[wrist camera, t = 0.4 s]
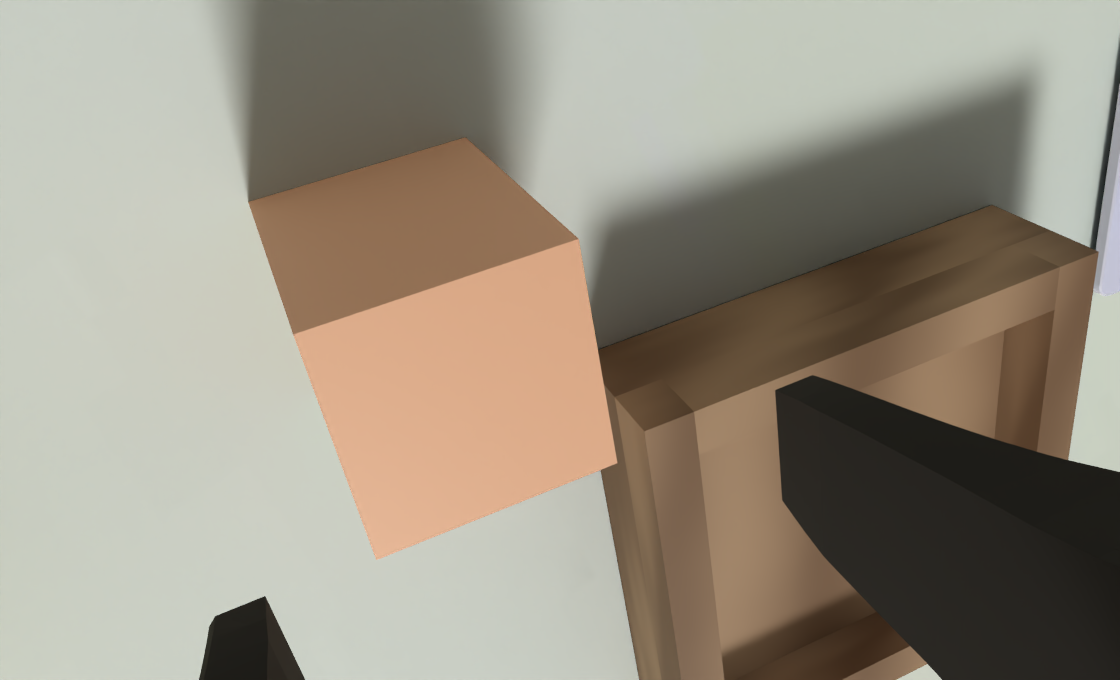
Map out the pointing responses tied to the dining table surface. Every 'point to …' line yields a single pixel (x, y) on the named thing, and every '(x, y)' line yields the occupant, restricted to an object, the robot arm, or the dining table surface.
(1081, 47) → the dining table surface
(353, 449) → the terracotta block
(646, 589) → the wooden tray
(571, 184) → the dining table surface
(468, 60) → the dining table surface
